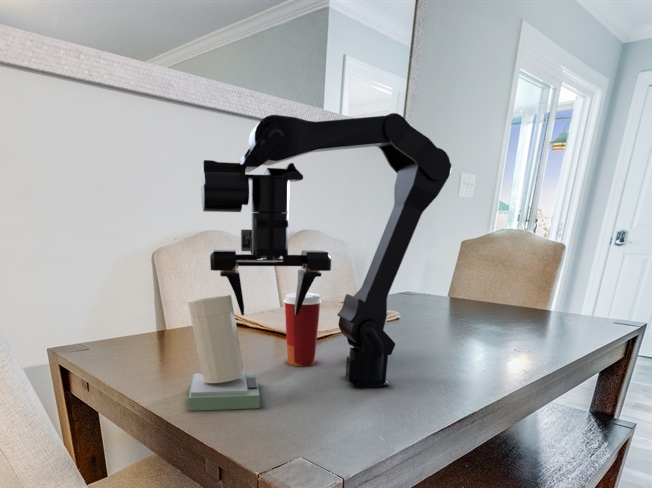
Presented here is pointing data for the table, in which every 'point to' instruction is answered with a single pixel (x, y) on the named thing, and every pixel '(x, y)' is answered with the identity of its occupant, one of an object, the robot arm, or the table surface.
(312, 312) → the paper cup
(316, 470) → the table surface
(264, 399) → the table surface
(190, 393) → the scale
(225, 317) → the canister
